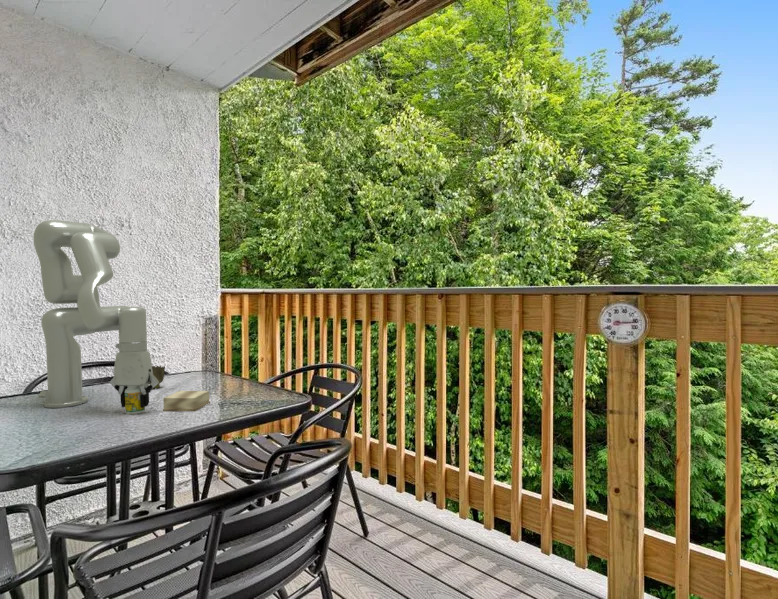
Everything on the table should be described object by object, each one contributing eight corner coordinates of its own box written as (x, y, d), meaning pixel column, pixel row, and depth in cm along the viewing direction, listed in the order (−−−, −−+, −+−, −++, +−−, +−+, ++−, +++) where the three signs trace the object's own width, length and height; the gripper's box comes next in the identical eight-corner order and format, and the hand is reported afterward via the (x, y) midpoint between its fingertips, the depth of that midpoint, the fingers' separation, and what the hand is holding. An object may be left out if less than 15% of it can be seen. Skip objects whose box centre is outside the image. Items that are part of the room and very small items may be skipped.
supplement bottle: (148, 410, 154) (148, 380, 154) (135, 415, 149) (134, 383, 149) (135, 409, 156) (134, 379, 156) (121, 414, 151) (120, 382, 151)
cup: (159, 390, 184) (159, 368, 183) (139, 390, 184) (139, 368, 184) (168, 386, 191) (168, 365, 191) (149, 386, 191) (149, 365, 191)
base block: (162, 411, 154) (162, 398, 154) (179, 402, 164) (179, 390, 164) (195, 411, 153) (195, 398, 153) (210, 403, 163) (209, 390, 163)
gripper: (98, 349, 149) (100, 409, 150) (153, 349, 148) (155, 409, 148) (114, 346, 156) (115, 403, 157) (166, 345, 155) (168, 403, 156)
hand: (135, 405), depth 153 cm, fingers closed on supplement bottle, 5 cm apart
